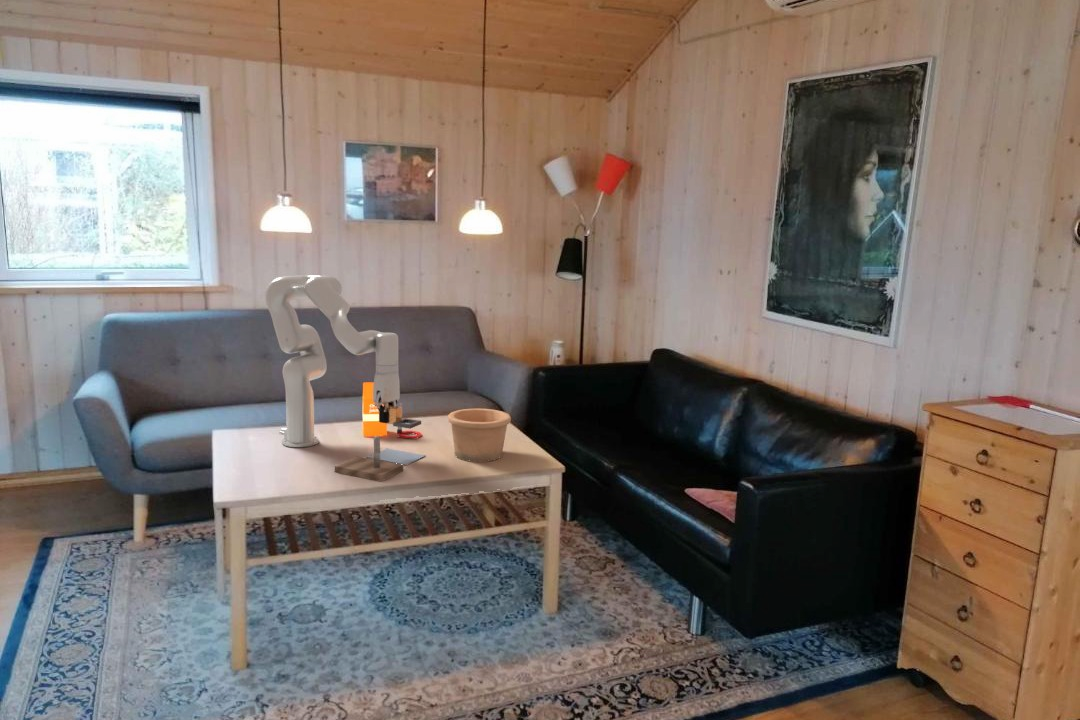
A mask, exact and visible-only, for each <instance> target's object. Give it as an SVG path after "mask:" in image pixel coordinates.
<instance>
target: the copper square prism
mask: <svg viewBox="0 0 1080 720" xmlns="http://www.w3.org/2000/svg"><path fill="white" fill-rule="evenodd" d="M383 407H384V405H383ZM387 412H388V423H386V424H387V425H392V426H393V427H397V428H398V427H402V429H410V430H411V429H412V428H415V427H418V426H420V425H422V420H420V419H412V418H403V406H402V407H400V406H397V405H396V406H390V405H388V404H387Z"/></svg>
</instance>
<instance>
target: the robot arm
mask: <svg viewBox="0 0 1080 720" xmlns="http://www.w3.org/2000/svg"><path fill="white" fill-rule="evenodd" d="M342 288H343V287H342V284H341V281H340V280H339V279H337V277H335V276H332V275H313V274H312V275H307V274H304V275H303V274H302V275H301V274H299V275H286V276H280V277H276V278H275V279H273V280H271V281H270V282H269V284H268V285H267V288H266V291H265V294H264V296H265V303H266V306H267V309H268V312H269V314H270V316H271V320H272V323H273V324H272V325H273V327H274V331H275V334H276V338H277V341H278V344H279V345H278V346H279V348H280V350H281V351H282V352H284V353H286V354H290V355H291V354H297V353H299V354H300V355H298V356H294V357H291V358H289V359H288V360H286V361H285V363H284V364H283V367H282V377H283V383H284V388H285V389H284V390H285V415H286V418H285V420H286V421H285V423H286V428H285V427H282V428H281V430H280V431H278V434H279V435H280V436H284V438H283V439H282V440H281V443H282V445H283V446H285V447H290V448H305V447H306V448H307V447H312V446H315V445H317V444H318V443H319V438H318V437H317V436H315V398H314V395H315V394H314V390H313V387H312V384H311V381H313V380H317V379H320V378H321V377H323V376H324V375H325V374H326V372H327V367H328V366H327V365H328V364H327V358H326V355H325V352H324V349H323V345H322V341H321V337H320V335H319V332H318V331H317V330H316V328H314V327H313V326H312V325H310V324H301V323H300V320H299V317H298V314H297V311H296V310H295V308H294V307H293V305H292V304H291V301H297V300H305V299H308V300H310V301H311V302H312V303H313V304H314V305H315V306H316V308H318V309H319V310H320V311H321V312H322V313H323V314H324V316H325V317H326V318H327V319H328V320H329V322H330V327H331V329H332V332H333V335H334V337H335V338H336V340H337V341H338V342H339V343H340V344H341V345H342V346H343V347H344V348H345V350H347V351H348V352H349V353H351V354H352V355H356V356H361V355H365V354H369V353H374V352H375V374H374V378H373V382H374V384H373V402H375V403H374V406H375V407H377V408H378V411H379V422H380V423H388V412H387V405H390V406H397V404H398V402H399V401H400V399H401V397H400V394H401V387H400V385H401V384H400V375H399V335H398V334H397V333H395V332H382V331H378V330H375V329H374V330H373V329H369V330H364V331H357V329H356V328H355V327H354V326H353V325H352V324H351V323H350V321H349V320H348V317H347V315H348V313H349V312H350V310H351V309H350V308H351V306H350V304H349V303H348V301H347V300H346V299H345V298H344V297H342V295H341V294H342V291H343V289H342ZM382 404H384V407H383V405H382Z"/></svg>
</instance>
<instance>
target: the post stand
mask: <svg viewBox="0 0 1080 720" xmlns="http://www.w3.org/2000/svg"><path fill="white" fill-rule="evenodd" d="M380 451H381V436H373V454H374V459H369V458H367V457H362V456H356V457H353V458H350V459H348V460H346V461H343V462H341V463H339V464H336V465H334V473H336V474H337V473H339V474H342V475H348V476H352V477H359V478H362V479H367V480H368V479H369V480H373V481H378V482H383V481H385V480H387V479H389V478H391V477H393V476H395V475H397V474H399V473H401V472H403V471H404V465H401V464H396V463H390V462H385V461H380Z"/></svg>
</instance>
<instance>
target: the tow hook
mask: <svg viewBox="0 0 1080 720" xmlns="http://www.w3.org/2000/svg"><path fill="white" fill-rule="evenodd" d="M399 407H402V408H403V402H400V403H399ZM408 433H414V434H413V435H407V434H408ZM416 434H417V435H416ZM395 436H396V438H397V437H399V438H402V437H403V439H407V438H417V437H420V438H422V437H421V436H423V435H422V432H419V431H416V430H403V427H397V430H396V435H395ZM417 439H418V438H417Z"/></svg>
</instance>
